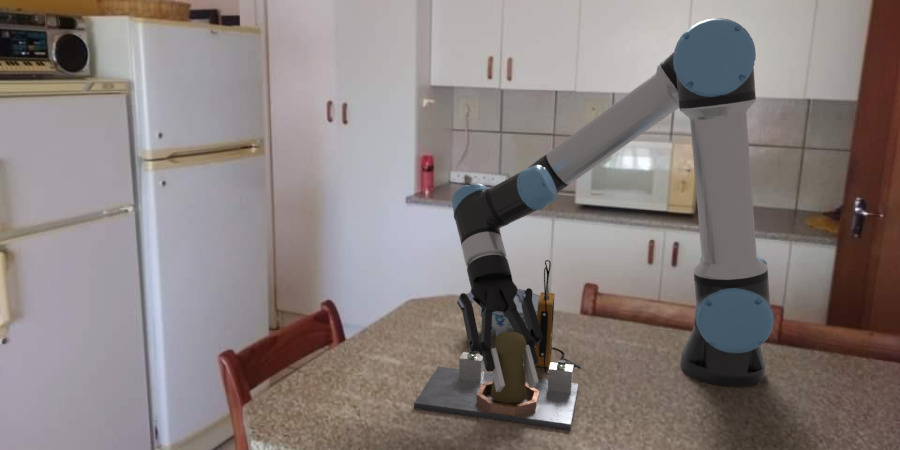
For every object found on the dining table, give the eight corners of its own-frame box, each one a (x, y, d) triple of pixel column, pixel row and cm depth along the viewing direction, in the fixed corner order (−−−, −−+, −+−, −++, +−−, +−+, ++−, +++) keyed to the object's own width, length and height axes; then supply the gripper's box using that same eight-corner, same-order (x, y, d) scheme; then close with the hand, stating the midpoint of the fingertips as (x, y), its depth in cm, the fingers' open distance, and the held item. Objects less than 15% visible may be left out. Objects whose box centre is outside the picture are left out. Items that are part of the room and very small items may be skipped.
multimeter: (587, 381, 133) (593, 277, 128) (532, 375, 134) (537, 272, 130) (588, 351, 147) (594, 256, 142) (539, 346, 149) (543, 252, 144)
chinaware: (479, 320, 163) (480, 287, 161) (546, 324, 161) (548, 291, 159) (472, 345, 148) (473, 309, 147) (546, 350, 147) (547, 314, 145)
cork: (531, 391, 123) (534, 331, 121) (519, 406, 118) (522, 343, 115) (498, 384, 126) (500, 325, 123) (485, 398, 120) (487, 336, 118)
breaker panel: (578, 388, 129) (579, 358, 128) (570, 429, 115) (572, 396, 113) (438, 371, 135) (438, 342, 134) (414, 408, 121) (414, 376, 119)
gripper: (527, 270, 135) (560, 388, 123) (433, 276, 130) (459, 401, 118) (540, 249, 129) (576, 372, 117) (442, 255, 124) (470, 384, 112)
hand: (517, 386), depth 118 cm, fingers closed on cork, 5 cm apart
